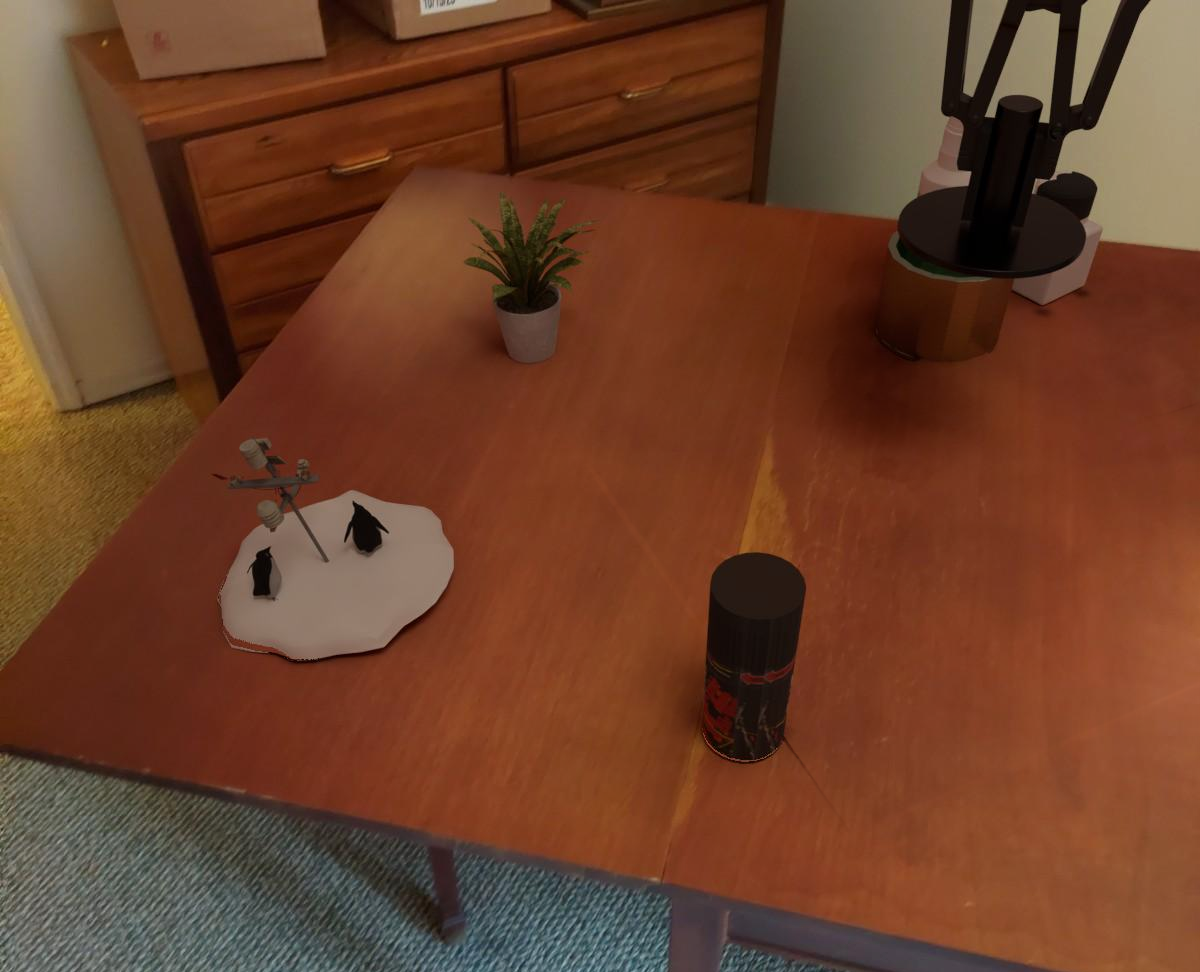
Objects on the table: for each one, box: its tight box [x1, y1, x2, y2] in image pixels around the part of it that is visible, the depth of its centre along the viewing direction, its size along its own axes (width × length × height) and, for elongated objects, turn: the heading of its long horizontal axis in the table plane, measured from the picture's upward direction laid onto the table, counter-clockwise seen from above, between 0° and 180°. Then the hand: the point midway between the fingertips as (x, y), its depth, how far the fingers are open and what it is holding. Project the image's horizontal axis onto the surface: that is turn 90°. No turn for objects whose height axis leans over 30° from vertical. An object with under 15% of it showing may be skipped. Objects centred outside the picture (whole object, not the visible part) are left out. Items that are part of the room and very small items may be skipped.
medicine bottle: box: [1011, 169, 1104, 306], centre depth 114 cm, size 7×7×12 cm
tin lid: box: [897, 94, 1086, 279], centre depth 77 cm, size 14×14×10 cm
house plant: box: [461, 190, 598, 364], centre depth 106 cm, size 14×14×16 cm
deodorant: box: [701, 551, 807, 765], centre depth 72 cm, size 6×6×15 cm
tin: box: [873, 230, 1014, 363], centre depth 109 cm, size 13×13×10 cm
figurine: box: [211, 437, 455, 661], centre depth 83 cm, size 20×18×16 cm
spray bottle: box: [916, 117, 971, 198], centre depth 115 cm, size 7×7×18 cm
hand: (993, 214), depth 79 cm, fingers closed on tin lid, 3 cm apart
